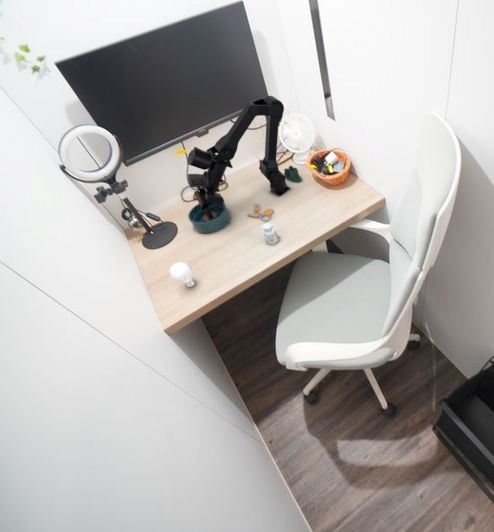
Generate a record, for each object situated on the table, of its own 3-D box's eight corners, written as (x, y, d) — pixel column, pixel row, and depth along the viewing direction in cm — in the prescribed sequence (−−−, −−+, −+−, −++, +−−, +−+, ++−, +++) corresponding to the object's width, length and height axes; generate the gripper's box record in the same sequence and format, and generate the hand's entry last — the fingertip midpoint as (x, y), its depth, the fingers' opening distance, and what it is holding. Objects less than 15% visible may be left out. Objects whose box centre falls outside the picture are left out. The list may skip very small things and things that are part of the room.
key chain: (277, 213, 135) (276, 211, 134) (264, 223, 131) (264, 221, 131) (256, 204, 140) (256, 202, 140) (244, 213, 137) (243, 212, 136)
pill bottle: (280, 238, 125) (275, 223, 119) (273, 245, 122) (267, 231, 116) (272, 235, 126) (266, 220, 120) (265, 242, 124) (258, 227, 118)
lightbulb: (185, 279, 116) (169, 259, 107) (202, 276, 116) (187, 256, 107) (180, 293, 112) (163, 273, 103) (198, 291, 111) (182, 271, 103)
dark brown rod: (214, 214, 138) (198, 184, 127) (222, 219, 135) (206, 189, 124) (202, 221, 135) (185, 192, 124) (210, 227, 132) (193, 198, 121)
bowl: (217, 205, 143) (211, 195, 138) (238, 218, 136) (232, 207, 131) (188, 225, 136) (181, 214, 131) (208, 239, 129) (201, 228, 124)
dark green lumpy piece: (304, 179, 149) (301, 170, 145) (297, 184, 147) (294, 174, 144) (289, 172, 155) (286, 162, 151) (282, 176, 153) (279, 167, 149)
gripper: (187, 156, 123) (174, 191, 128) (201, 177, 113) (186, 214, 118) (215, 166, 132) (202, 199, 137) (231, 186, 121) (216, 221, 126)
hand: (201, 207), depth 129 cm, fingers closed on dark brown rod, 2 cm apart
